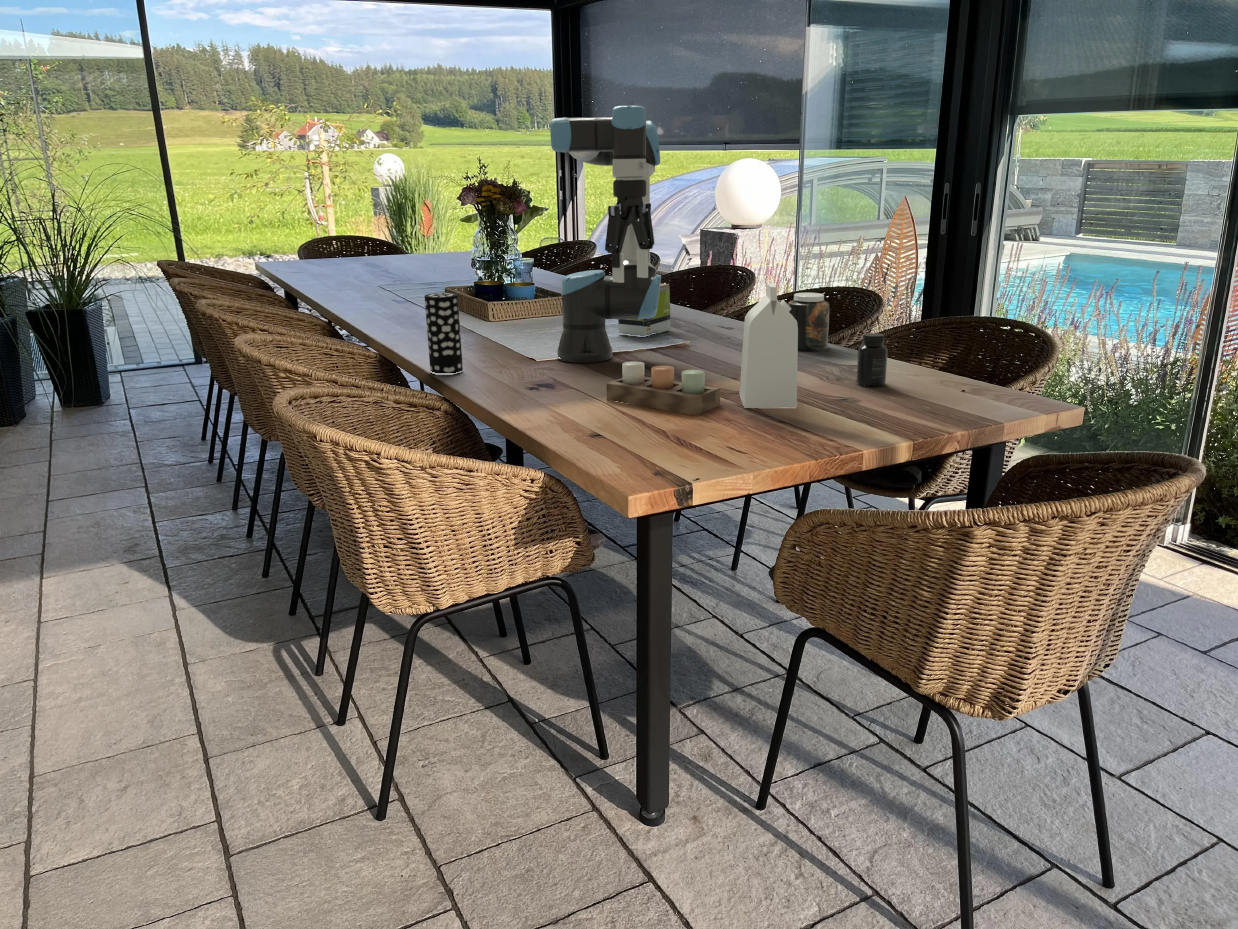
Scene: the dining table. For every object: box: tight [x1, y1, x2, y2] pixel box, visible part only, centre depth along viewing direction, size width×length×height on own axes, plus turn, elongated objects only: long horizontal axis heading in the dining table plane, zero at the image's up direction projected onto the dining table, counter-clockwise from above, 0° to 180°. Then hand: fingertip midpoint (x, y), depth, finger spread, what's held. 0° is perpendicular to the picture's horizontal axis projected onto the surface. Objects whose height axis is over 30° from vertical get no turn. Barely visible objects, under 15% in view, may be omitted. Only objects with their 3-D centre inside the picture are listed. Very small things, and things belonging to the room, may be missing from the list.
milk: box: [738, 282, 799, 409], centre depth 208 cm, size 12×12×26 cm
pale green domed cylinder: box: [681, 369, 706, 395], centre depth 206 cm, size 5×5×5 cm
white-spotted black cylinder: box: [423, 292, 464, 373], centre depth 242 cm, size 8×8×20 cm
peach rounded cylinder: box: [650, 365, 675, 390], centre depth 211 cm, size 5×5×5 cm
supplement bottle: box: [856, 332, 888, 387], centre depth 225 cm, size 7×7×12 cm
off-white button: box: [621, 361, 645, 385], centre depth 215 cm, size 5×5×5 cm
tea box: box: [617, 283, 671, 336], centre depth 291 cm, size 15×10×15 cm, turn 144°
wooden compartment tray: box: [605, 376, 721, 416], centre depth 212 cm, size 24×10×4 cm, turn 54°
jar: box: [787, 292, 830, 352], centre depth 267 cm, size 12×12×15 cm
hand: (630, 279), depth 220 cm, fingers open, 9 cm apart
